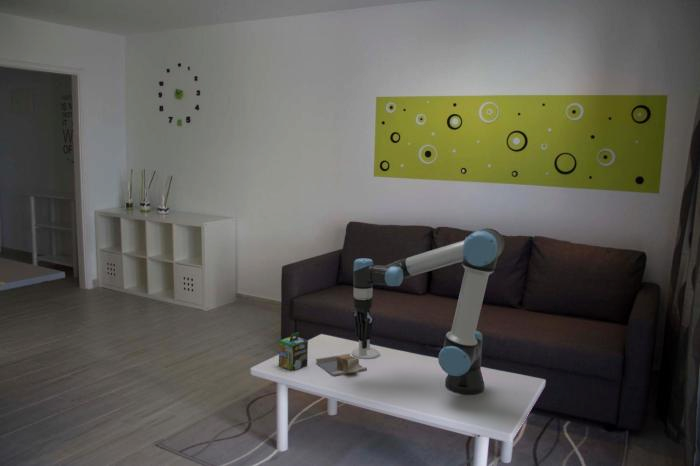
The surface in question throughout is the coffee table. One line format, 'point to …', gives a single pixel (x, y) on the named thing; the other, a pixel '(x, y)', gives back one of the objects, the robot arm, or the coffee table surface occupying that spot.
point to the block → (348, 363)
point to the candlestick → (370, 352)
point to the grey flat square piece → (334, 365)
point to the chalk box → (293, 352)
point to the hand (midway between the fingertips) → (362, 355)
